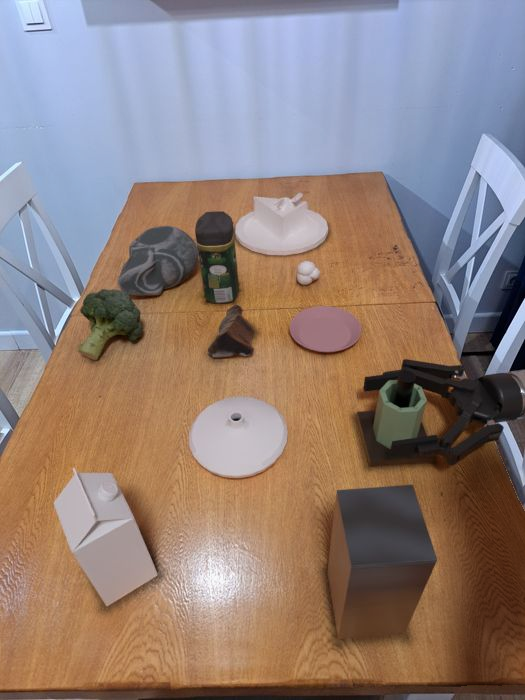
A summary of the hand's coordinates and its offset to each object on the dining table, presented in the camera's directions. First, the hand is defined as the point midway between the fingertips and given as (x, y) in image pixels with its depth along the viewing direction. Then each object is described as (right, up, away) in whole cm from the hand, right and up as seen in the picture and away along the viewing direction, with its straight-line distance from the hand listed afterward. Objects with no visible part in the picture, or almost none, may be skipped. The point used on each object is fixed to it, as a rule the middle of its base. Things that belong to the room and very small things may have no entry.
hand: (377, 414), depth 75 cm
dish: (-12, +42, +57) cm, 72 cm away
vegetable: (-48, +11, +26) cm, 55 cm away
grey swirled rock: (-41, +26, +41) cm, 64 cm away
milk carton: (-36, -20, -9) cm, 42 cm away
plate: (-5, +13, +25) cm, 28 cm away
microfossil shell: (-7, +25, +39) cm, 47 cm away
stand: (-5, -22, -14) cm, 26 cm away
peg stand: (+4, -5, +5) cm, 8 cm away
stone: (-23, +12, +25) cm, 36 cm away
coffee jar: (-27, +23, +37) cm, 51 cm away
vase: (-21, -6, +5) cm, 23 cm away
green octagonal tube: (+4, -3, +4) cm, 6 cm away
